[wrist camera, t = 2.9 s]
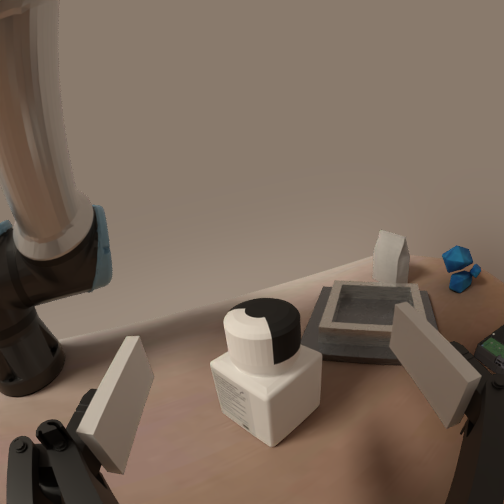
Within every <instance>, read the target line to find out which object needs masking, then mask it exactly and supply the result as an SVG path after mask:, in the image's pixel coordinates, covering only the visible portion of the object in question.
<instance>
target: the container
mask: <svg viewBox="0 0 504 504" xmlns="http://www.w3.org/2000/svg"><path fill="white" fill-rule="evenodd" d="M223 323H224V329H225V335H226V340H227V346H228V352H226V353H224V354H223V355H221V356H219V357H218V358H216V359H214V360H212V361H211V363H210V366H211V370H212V374H213V378H214V382H215V386H216V390H217V394H218V398H219V402H220V406H221V409H222V412H223V413H224V414H225V415H226V416H228V417H229V418H230V419H232V420H233V421H234V422H236V423H237V424H238V425H240V426H241V427H242V428H244V429H245V430H247V431H248V432H249V433H251V434H252V435H254V436H255V437H256V438H258V439H259V440H261V441H262V442H264V443H265V444H267V445H268V446H270V447H274V446H276V445H277V444H278V443H279V442H280V441H282V440H283V439H284V438H285V437H286V436H287V435H288V434H289V433H291V432H292V431H293V430H294V429H295V428H296V427H297V426H298V425H299V424H301V423H302V422H303V421H304V420H305V419H306V418H307V417H308V416H309V415H310V414H311V413H312V412H313V411H314V410H315V409H316V408H317V407H318V406H319V405H320V393H321V375H322V354H321V353H320V352H318V351H315V350H313V349H310V348H308V347H306V346H303V345H301V329H300V313H299V311H298V310H297V309H296V308H295V307H294V306H293V305H292V304H290V303H289V302H286V301H284V300H280V299H274V298H259V299H253V300H249V301H246V302H243V303H240V304H238V305H236V306H235V307H233V308H232V309H231V310H230V311H229V312H228V313H227V315H226V316H225V318H224V322H223Z"/></svg>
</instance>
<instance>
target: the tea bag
mask: <svg viewBox="0 0 504 504" xmlns="http://www.w3.org/2000/svg"><path fill="white" fill-rule="evenodd" d="M409 261H410V255H409V251H408V247H407V242H406V237H404V236H401V235H398V234H394V233H391V232H387V231H384V230H380V233H379V237H378V240H377V243H376V246H375V249H374V255H373V277H372V278H373V279H375V280H377V281H379V282H381V283H407V282H408V272H409Z"/></svg>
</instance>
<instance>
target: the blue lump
mask: <svg viewBox="0 0 504 504" xmlns="http://www.w3.org/2000/svg"><path fill="white" fill-rule="evenodd" d="M442 257H443V260H444V263H445V265H446V268H447V271H448V272H449V273H450V272H453V271H457V270H461V269H463V268H465V267H467V266H468V265H470V264H472V263H473V260H472V257H471V254H470V251H469V249H466V248H463V247H460V246H455V247H453V248H452V249H450V250H449V251H447V252H445V253H444V254H443V255H442ZM480 272H481V268H480V267H479V266H478V265H477V264H475V265H474V266H473V268H472V269H471V270H470V272H467V271H461V272H458V273H455V274H452V275H451V280H450V285H449V288H450V289H451V290H453V291H456V292H458V293H461V292H462V291H464V290H465V289H466V288H467V287H468V286H469V285H471V281H472V276H474V277H475V278H476V277H477V276H478V275H479V273H480Z"/></svg>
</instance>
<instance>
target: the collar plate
mask: <svg viewBox="0 0 504 504" xmlns="http://www.w3.org/2000/svg"><path fill="white" fill-rule="evenodd" d="M403 302H408V303H409V304H410V305H411V306H412V307H413V308H414V309H415V310H417V311H418V312H419V313H420V314H421V315H422V316H423V317H424V318H425V319H426V320H427V321H428V322H429V323H430V324H431V325H432V326H433V327H434V328H435V329H436V330H437V331H438V328H437V324H436V321H435V317H434V313H433V310H432V306H431V303H430V300H429V296H428V293H427V291H419V287H418V284H409V283H380V282H356V281H334V284H333V287H323V288H322V291H321V293H320V296H319V298H318V301H317V303H316V306H315V308H314V311H313V313H312V315H311V318H310V320H309V322H308V325H307V327H306V329H305V332H304V334H303V336H302V339H301V345H303V346H306V347H308V348H310V349H313V350H315V351H318V352H320V353H321V354H322V360H329V361H340V362H352V363H366V364H383V365H402V364H401V362H400V361H399V360H398V358H397V357H396V355H395V354H394V353H393V351H392V350H391V349H390V347H389V345H390V339H391V332H392V325H393V317H394V309H395V304H399V303H403Z"/></svg>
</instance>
